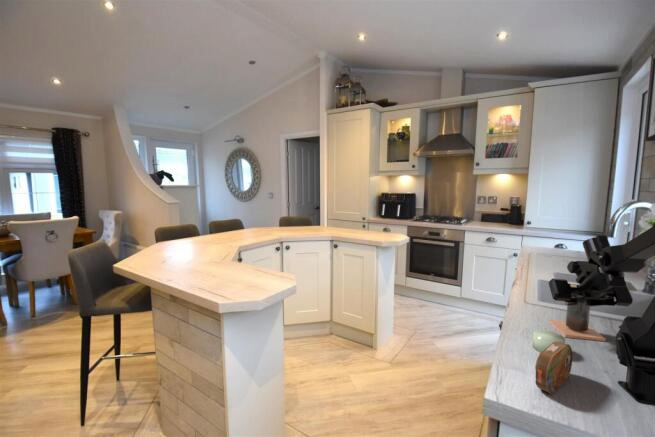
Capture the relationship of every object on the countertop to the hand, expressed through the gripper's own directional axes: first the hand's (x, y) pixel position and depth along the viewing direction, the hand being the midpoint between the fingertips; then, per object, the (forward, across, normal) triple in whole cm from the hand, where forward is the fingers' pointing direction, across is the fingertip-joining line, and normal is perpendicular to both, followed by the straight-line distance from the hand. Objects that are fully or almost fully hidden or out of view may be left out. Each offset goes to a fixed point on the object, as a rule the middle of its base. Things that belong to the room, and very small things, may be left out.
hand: (576, 304), depth 96 cm
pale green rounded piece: (-5, +13, +17) cm, 22 cm away
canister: (+4, 0, +6) cm, 7 cm away
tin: (-16, +18, +28) cm, 37 cm away
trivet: (+5, 0, +7) cm, 8 cm away
